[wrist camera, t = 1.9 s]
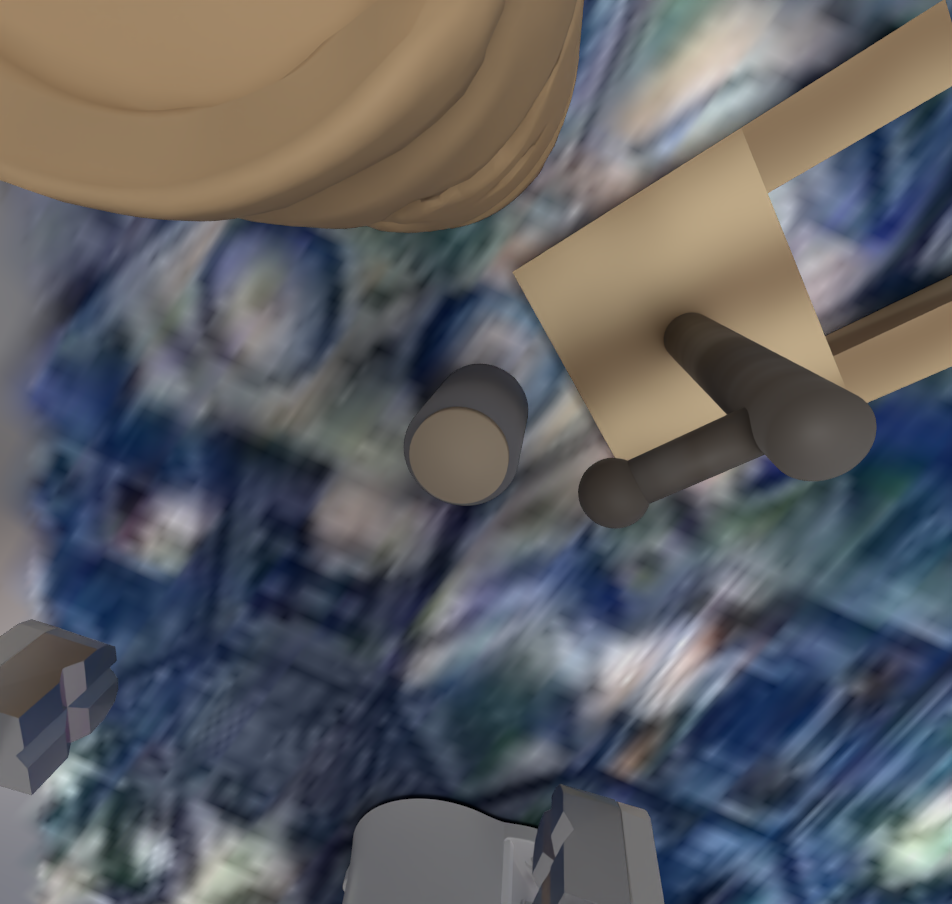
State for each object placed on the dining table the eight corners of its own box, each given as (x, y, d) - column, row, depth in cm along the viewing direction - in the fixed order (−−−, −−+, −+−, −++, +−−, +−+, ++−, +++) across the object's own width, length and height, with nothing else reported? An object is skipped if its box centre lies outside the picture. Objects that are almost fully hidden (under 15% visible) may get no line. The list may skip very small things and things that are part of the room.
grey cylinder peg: (545, 427, 27) (540, 482, 21) (466, 467, 28) (440, 529, 22) (497, 346, 26) (477, 378, 19) (418, 392, 27) (377, 436, 21)
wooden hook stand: (988, 319, 22) (1648, 439, 9) (627, 481, 27) (690, 713, 14) (898, 28, 19) (1691, -473, 6) (511, 272, 24) (449, 311, 11)
